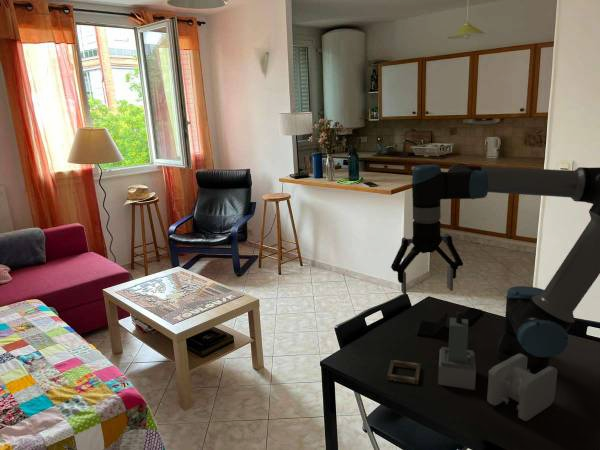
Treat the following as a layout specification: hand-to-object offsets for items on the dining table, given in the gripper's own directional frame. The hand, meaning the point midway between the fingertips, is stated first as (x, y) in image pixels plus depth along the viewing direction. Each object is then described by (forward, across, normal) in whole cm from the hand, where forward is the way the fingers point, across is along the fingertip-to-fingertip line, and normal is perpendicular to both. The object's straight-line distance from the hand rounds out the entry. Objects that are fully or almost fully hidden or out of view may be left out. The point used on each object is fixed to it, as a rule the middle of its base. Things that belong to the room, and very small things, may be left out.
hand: (426, 290), depth 130 cm
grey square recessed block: (+27, -7, +4) cm, 28 cm away
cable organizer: (+27, -19, +18) cm, 38 cm away
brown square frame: (+26, +7, +1) cm, 27 cm away
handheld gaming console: (+27, -10, -25) cm, 38 cm away
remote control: (+28, -27, -33) cm, 51 cm away
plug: (+21, -8, +4) cm, 22 cm away
